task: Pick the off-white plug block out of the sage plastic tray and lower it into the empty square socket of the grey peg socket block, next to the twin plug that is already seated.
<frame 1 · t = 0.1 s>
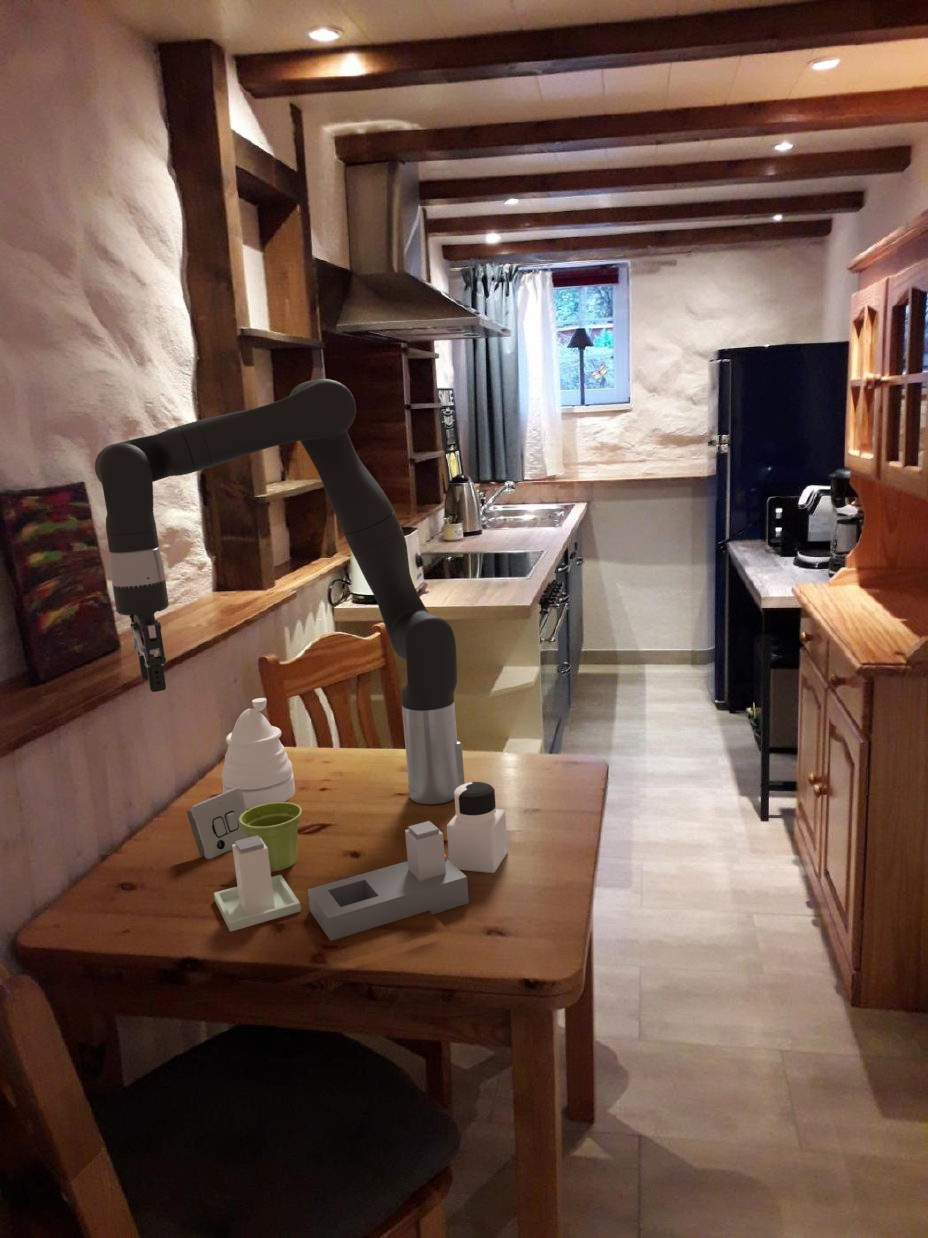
hand: (153, 684, 144), 29 cm above the table, tool pointing down, fingers open, 8 cm apart
plug: (257, 905, 133), point 1 cm above the table, touching tray
plant pot: (277, 867, 146), on the table
grey peg socket block: (389, 909, 131), on the table
tray: (257, 910, 133), on the table
medicine bottle: (479, 862, 144), on the table
electrical switch: (222, 850, 154), on the table
honey pot: (260, 796, 175), on the table
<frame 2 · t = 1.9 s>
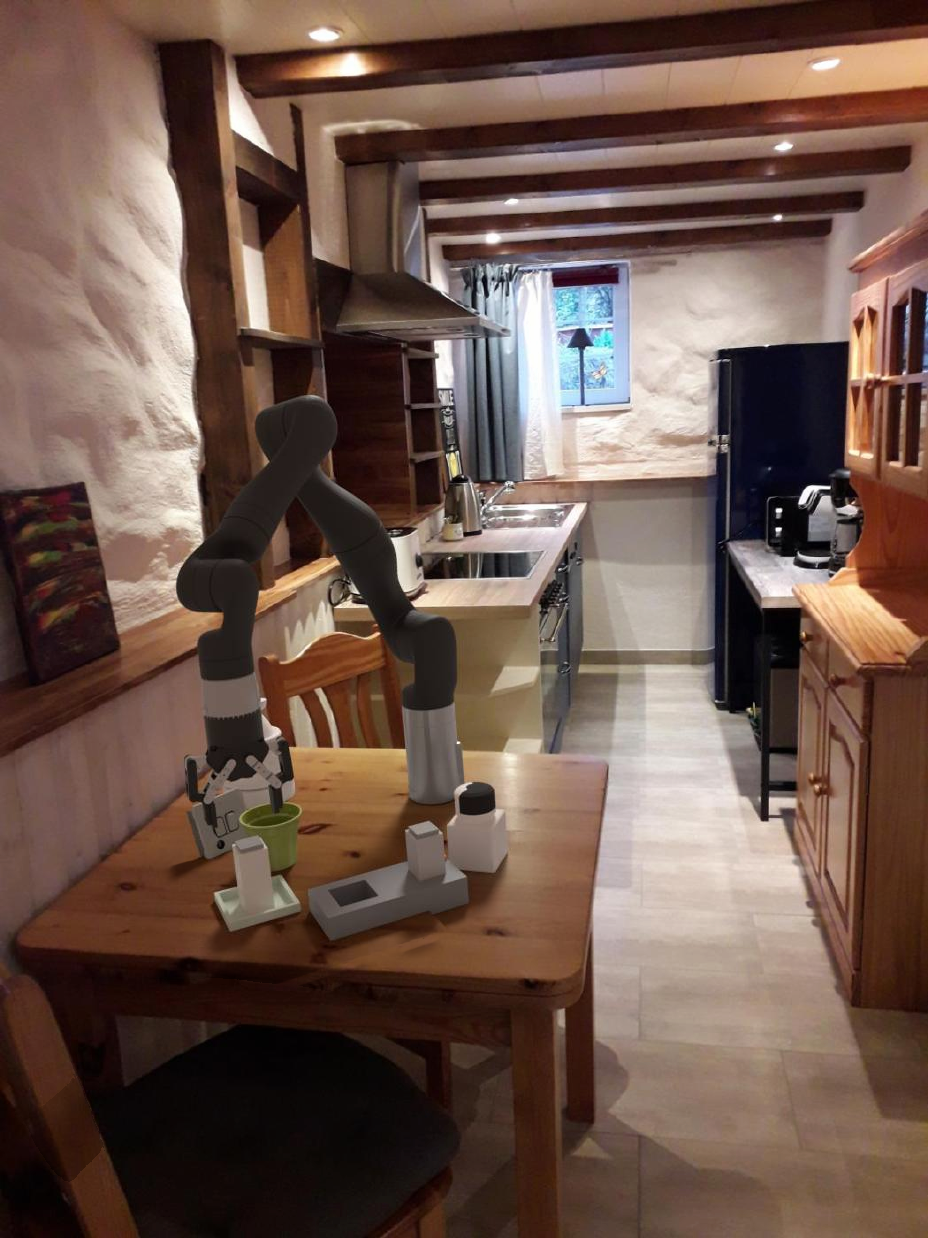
hand: (244, 819, 130), 14 cm above the table, tool pointing down, fingers open, 8 cm apart
nothing on the table moved.
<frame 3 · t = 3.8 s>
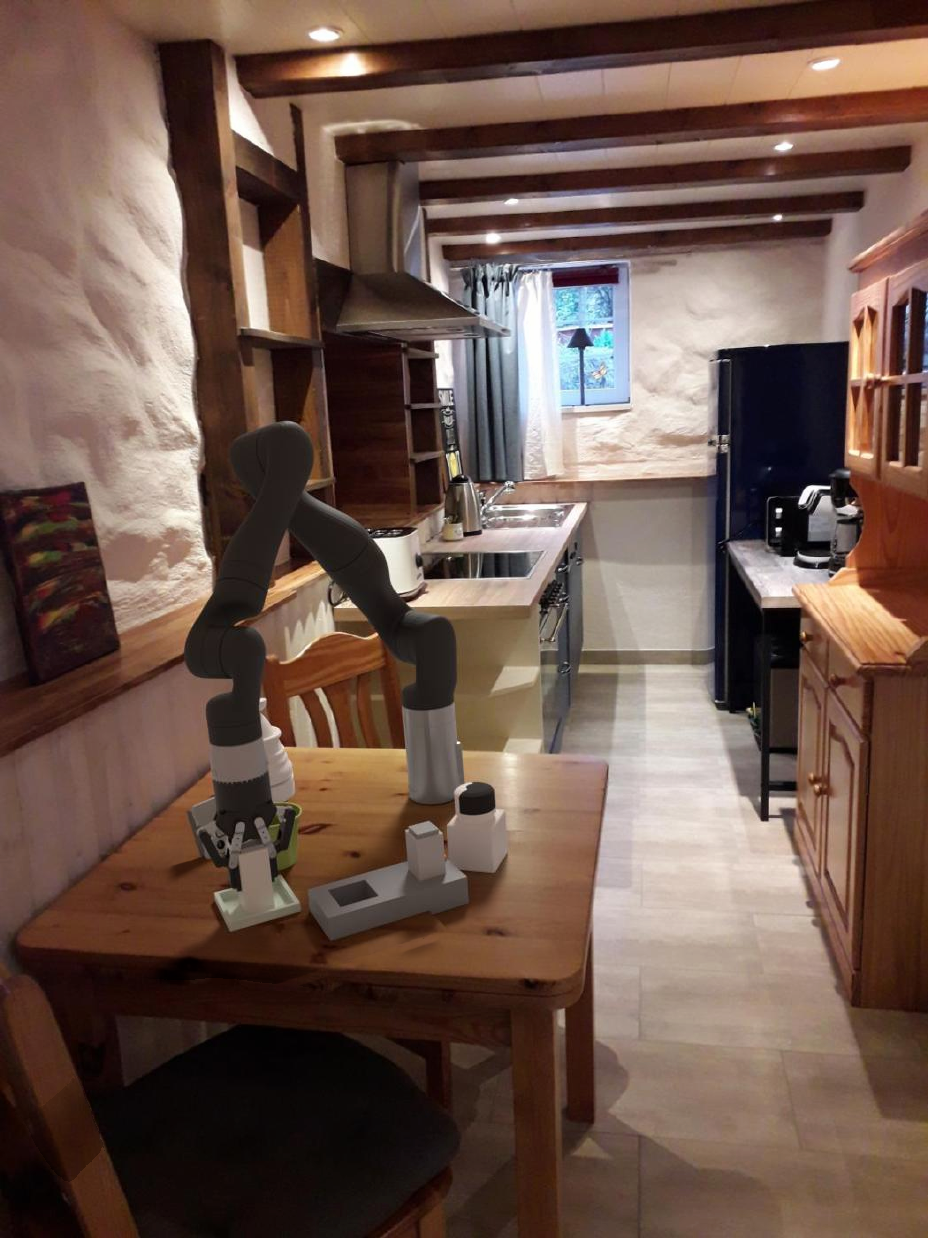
hand: (254, 884, 132), 4 cm above the table, tool pointing down, fingers closed on plug, 4 cm apart
plug: (257, 905, 133), point 1 cm above the table, touching gripper, tray
everything else where it was.
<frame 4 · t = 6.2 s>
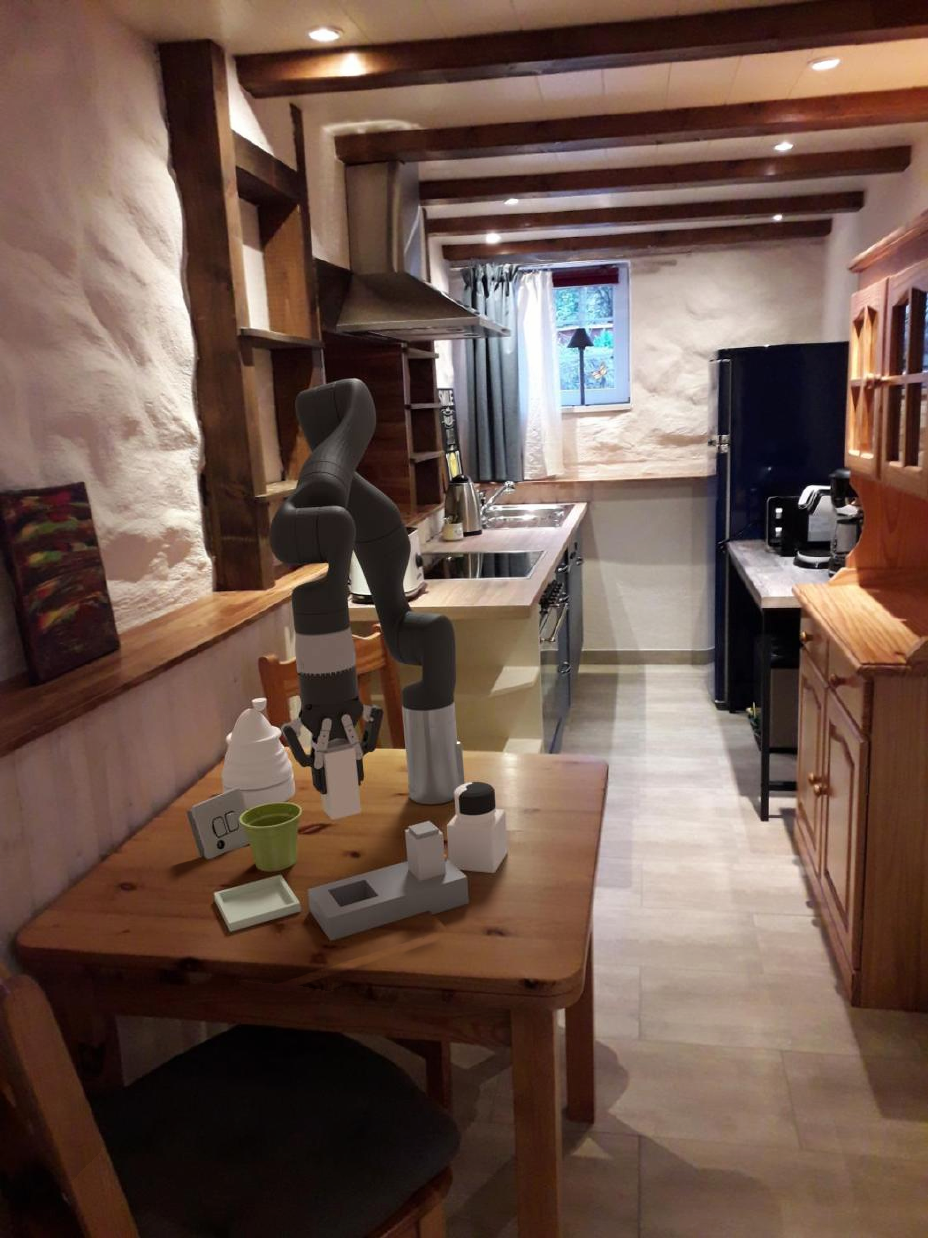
hand: (339, 788, 125), 19 cm above the table, tool pointing down, fingers closed on plug, 4 cm apart
plug: (341, 811, 126), point 16 cm above the table, touching gripper
everything else where it was.
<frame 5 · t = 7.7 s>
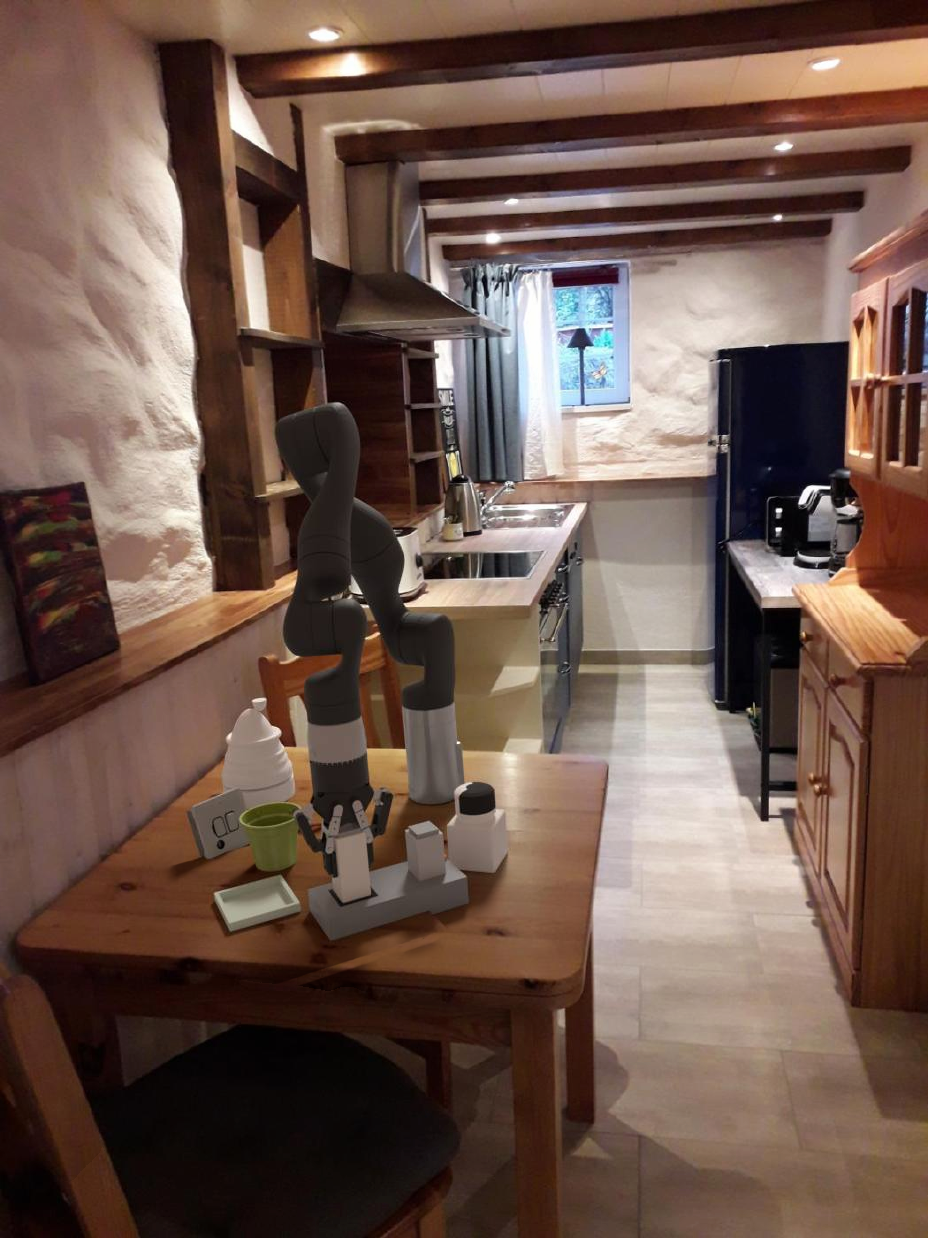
hand: (349, 870, 127), 7 cm above the table, tool pointing down, fingers closed on plug, 4 cm apart
plug: (352, 892, 128), point 4 cm above the table, touching gripper
everything else where it was.
when the fingers open (5 cm above the table, at t = 8.9 s): plug stays where it is, resting on grey peg socket block.
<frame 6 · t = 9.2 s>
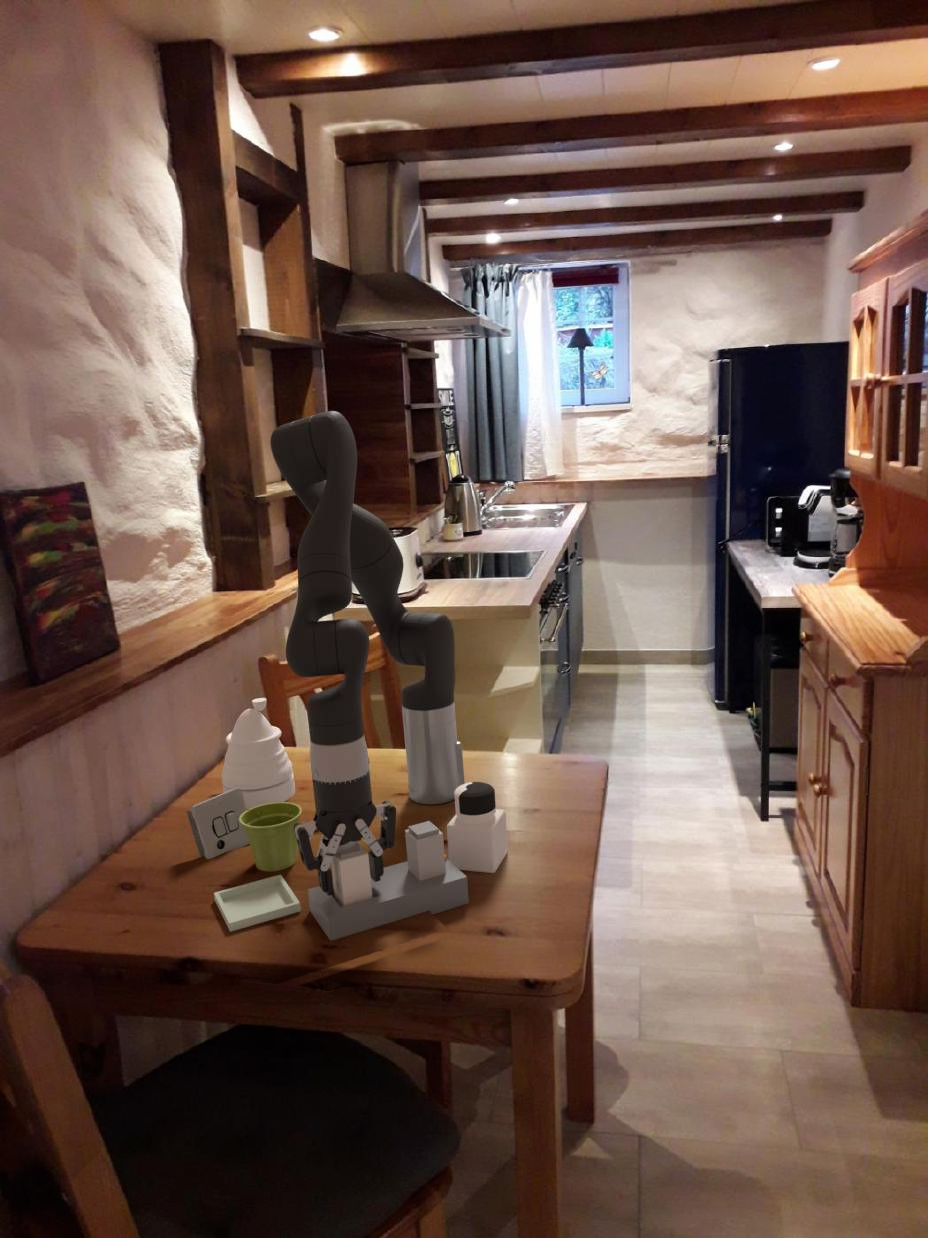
hand: (352, 885, 128), 5 cm above the table, tool pointing down, fingers open, 6 cm apart
plug: (355, 913, 129), point 1 cm above the table, touching grey peg socket block
everything else where it was.
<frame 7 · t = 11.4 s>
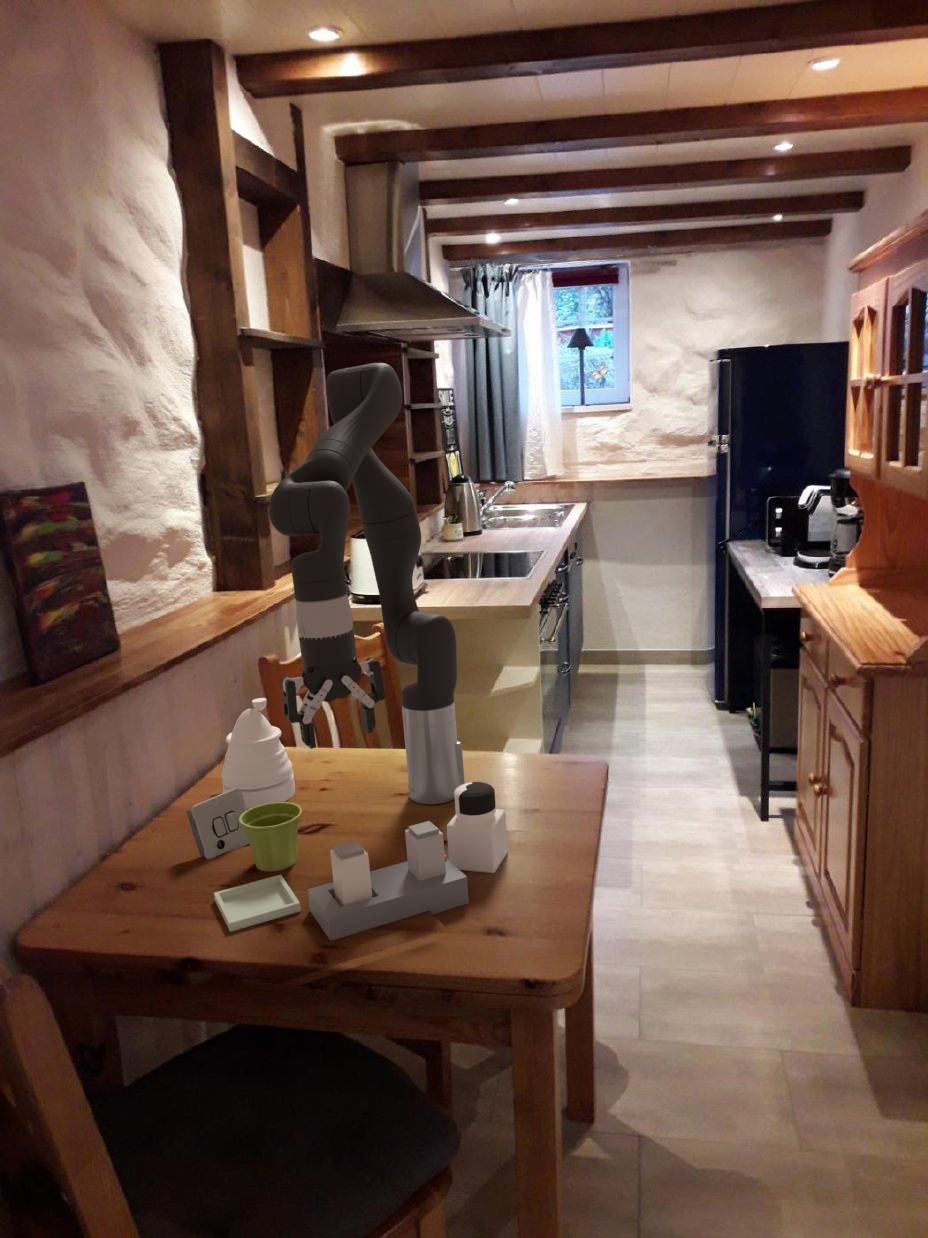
hand: (340, 739, 134), 23 cm above the table, tool pointing down, fingers open, 8 cm apart
nothing on the table moved.
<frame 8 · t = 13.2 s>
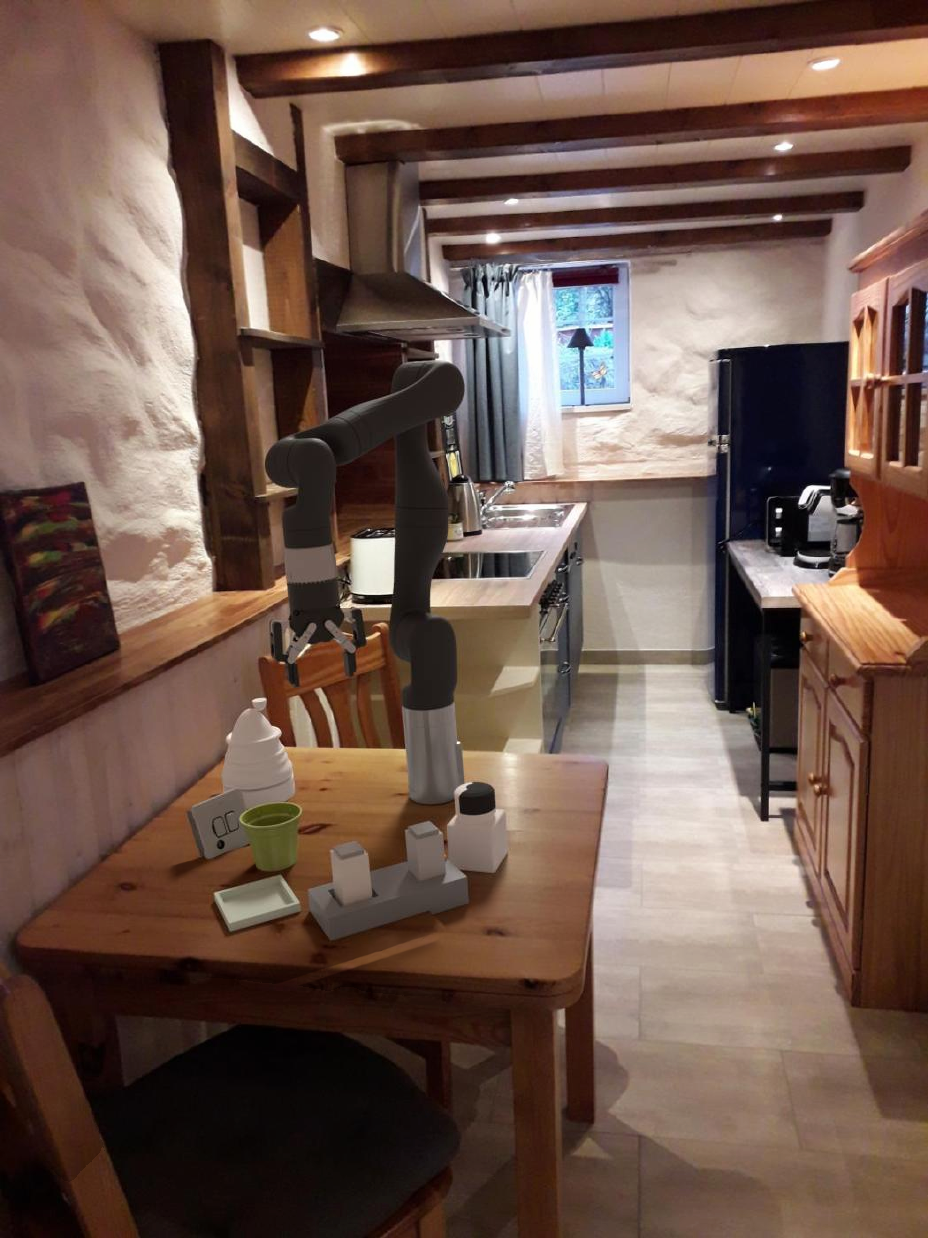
hand: (322, 681, 144), 28 cm above the table, tool pointing down, fingers open, 8 cm apart
nothing on the table moved.
at the end: plug 0.0 cm from the target spot on the grey peg socket block, point 1.0 cm above the grey peg socket block's base; plug tilted 0°; the gripper is holding nothing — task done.
